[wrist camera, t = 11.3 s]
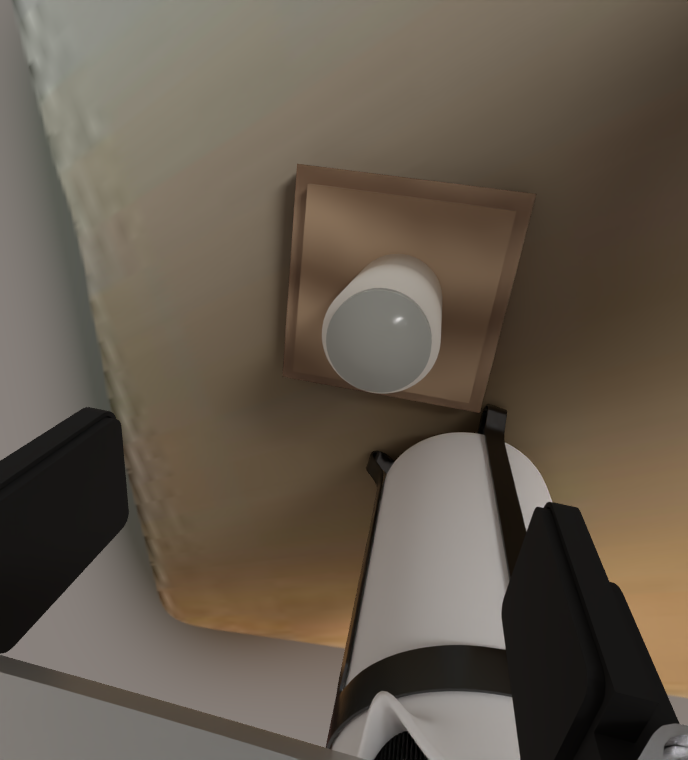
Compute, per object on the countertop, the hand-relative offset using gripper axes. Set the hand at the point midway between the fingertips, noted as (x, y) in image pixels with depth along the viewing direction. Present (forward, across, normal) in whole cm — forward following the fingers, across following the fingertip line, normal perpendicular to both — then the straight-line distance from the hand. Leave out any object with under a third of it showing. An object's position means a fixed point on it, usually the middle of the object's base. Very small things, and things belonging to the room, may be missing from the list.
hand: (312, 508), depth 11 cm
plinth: (+24, 0, 0) cm, 24 cm away
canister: (+21, 0, 0) cm, 21 cm away
